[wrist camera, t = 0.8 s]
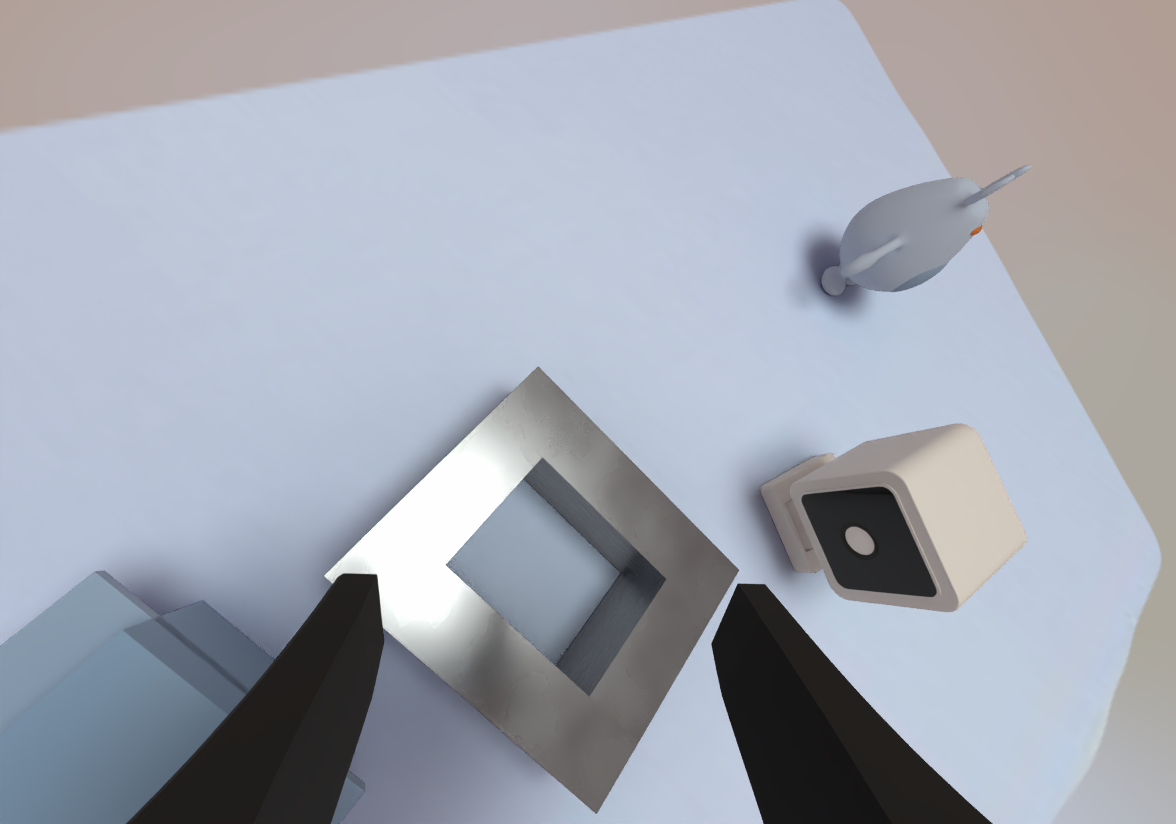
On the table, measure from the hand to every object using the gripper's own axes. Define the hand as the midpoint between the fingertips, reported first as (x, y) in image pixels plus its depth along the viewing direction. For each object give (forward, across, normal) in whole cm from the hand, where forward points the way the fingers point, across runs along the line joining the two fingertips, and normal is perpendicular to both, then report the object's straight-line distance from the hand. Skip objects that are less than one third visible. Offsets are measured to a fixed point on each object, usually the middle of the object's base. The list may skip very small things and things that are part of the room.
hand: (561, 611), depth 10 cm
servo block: (+4, +11, +11) cm, 16 cm away
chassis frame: (+10, 0, +10) cm, 14 cm away
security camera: (+15, -16, +11) cm, 25 cm away
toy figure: (+29, -21, -1) cm, 36 cm away
